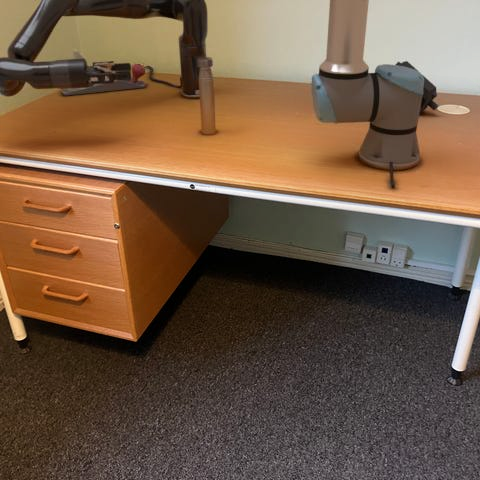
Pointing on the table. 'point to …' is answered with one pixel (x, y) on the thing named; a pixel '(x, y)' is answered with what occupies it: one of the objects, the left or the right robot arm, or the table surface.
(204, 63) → the cap
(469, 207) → the table surface
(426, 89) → the tool
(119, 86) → the hand plane
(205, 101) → the bottle
